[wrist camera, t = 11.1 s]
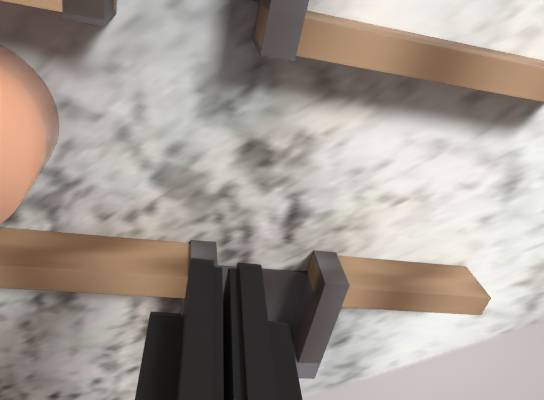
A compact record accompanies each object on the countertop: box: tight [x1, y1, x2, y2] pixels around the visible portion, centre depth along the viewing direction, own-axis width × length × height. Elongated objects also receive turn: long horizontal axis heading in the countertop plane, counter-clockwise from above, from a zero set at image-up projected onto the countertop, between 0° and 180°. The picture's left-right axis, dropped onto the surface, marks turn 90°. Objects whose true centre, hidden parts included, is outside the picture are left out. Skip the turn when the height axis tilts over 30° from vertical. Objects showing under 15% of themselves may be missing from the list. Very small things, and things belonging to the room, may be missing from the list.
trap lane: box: [0, 0, 544, 379], centre depth 17 cm, size 28×23×6 cm
